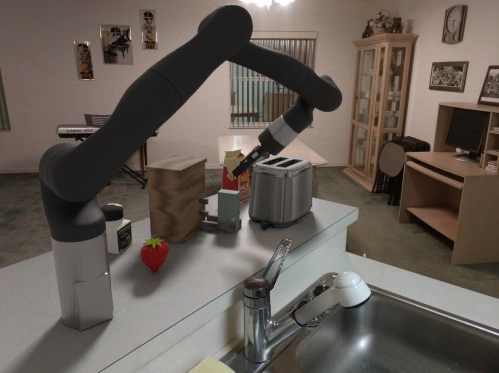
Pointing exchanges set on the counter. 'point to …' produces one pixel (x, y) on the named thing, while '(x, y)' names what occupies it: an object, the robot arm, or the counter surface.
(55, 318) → the counter surface
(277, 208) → the toaster
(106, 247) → the robot arm
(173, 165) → the wooden cabinet
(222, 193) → the gray-green rectangular block
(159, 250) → the strawberry
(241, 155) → the milk carton
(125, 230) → the medicine bottle
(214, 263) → the counter surface
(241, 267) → the counter surface
